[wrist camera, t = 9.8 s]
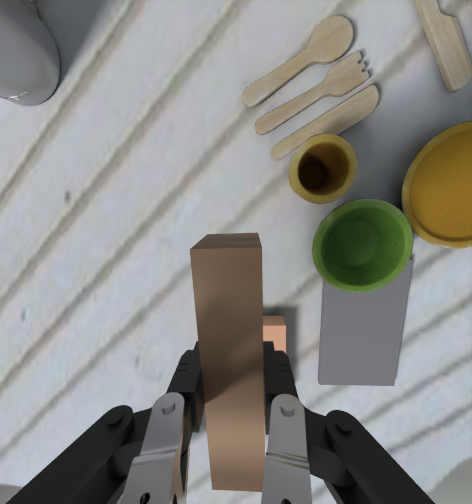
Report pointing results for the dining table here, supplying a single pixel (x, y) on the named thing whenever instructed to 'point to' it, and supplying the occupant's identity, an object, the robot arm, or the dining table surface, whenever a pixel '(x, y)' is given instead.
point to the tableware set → (345, 161)
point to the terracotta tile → (275, 331)
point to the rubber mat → (362, 333)
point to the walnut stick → (231, 356)
